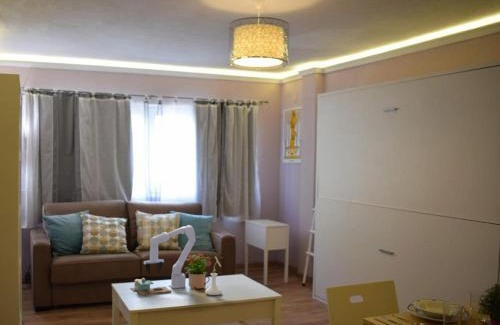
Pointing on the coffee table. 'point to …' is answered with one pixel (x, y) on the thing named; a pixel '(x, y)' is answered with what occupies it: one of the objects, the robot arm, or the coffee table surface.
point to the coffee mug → (208, 278)
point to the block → (137, 283)
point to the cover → (144, 284)
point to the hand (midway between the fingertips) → (153, 273)
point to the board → (154, 291)
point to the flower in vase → (214, 283)
